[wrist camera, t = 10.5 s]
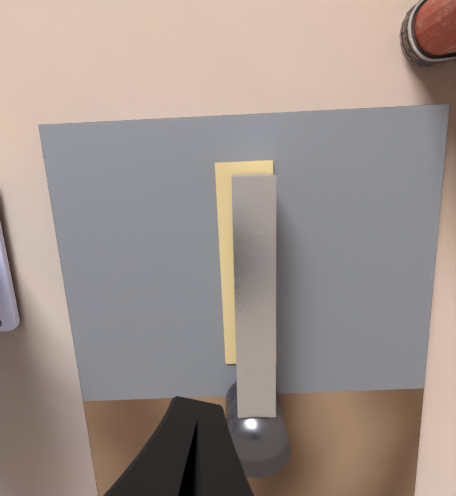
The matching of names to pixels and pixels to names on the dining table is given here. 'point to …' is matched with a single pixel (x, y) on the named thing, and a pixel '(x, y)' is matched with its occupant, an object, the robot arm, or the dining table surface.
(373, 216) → the door plate
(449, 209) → the dining table surface
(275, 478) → the plate
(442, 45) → the red tin can
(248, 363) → the lock bar
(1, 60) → the dining table surface
